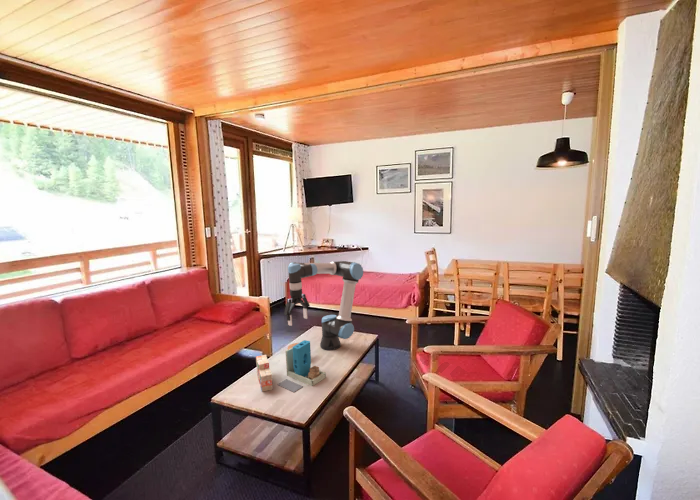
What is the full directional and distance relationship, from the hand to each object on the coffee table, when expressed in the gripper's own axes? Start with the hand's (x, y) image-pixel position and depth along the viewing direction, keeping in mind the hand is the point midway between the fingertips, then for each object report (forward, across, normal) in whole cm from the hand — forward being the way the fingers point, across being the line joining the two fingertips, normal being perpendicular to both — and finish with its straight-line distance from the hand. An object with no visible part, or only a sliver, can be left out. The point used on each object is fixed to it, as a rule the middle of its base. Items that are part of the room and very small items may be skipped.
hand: (298, 321), depth 201 cm
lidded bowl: (+32, -9, -12) cm, 36 cm away
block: (+32, +4, +6) cm, 33 cm away
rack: (+32, +4, +8) cm, 33 cm away
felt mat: (+32, +17, +8) cm, 37 cm away
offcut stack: (+32, +4, +16) cm, 36 cm away
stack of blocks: (+32, +22, -8) cm, 40 cm away
